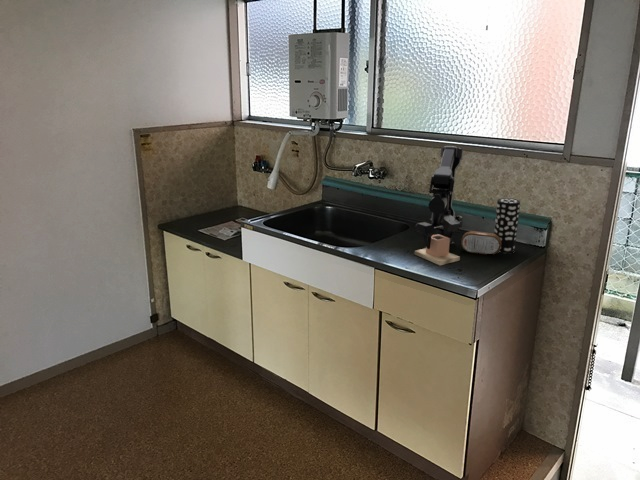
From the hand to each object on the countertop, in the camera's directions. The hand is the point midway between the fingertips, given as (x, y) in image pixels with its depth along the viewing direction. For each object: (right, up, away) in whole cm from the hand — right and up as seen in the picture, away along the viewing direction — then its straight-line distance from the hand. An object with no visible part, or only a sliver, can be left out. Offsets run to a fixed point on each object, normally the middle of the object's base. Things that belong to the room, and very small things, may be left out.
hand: (437, 246), depth 198 cm
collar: (0, -3, +1) cm, 3 cm away
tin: (+18, -3, +6) cm, 19 cm away
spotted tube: (+28, -2, +9) cm, 30 cm away
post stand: (0, -4, +1) cm, 4 cm away
